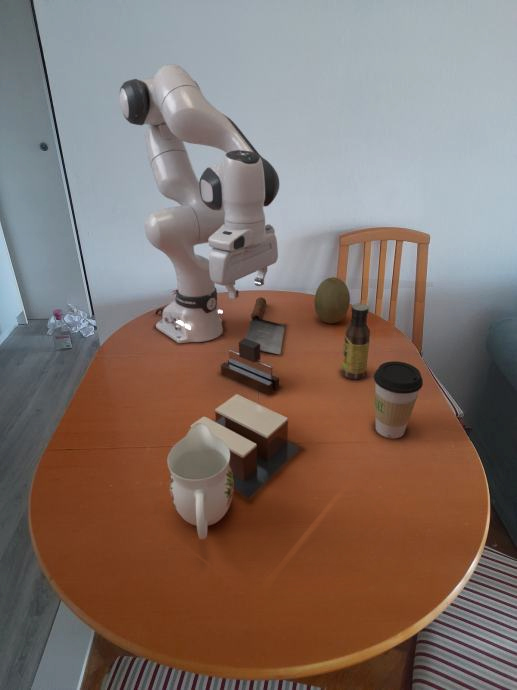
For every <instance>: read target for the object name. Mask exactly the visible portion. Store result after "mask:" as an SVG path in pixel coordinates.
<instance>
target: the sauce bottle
mask: <svg viewBox="0 0 517 690" xmlns="http://www.w3.org/2000/svg"><path fill="white" fill-rule="evenodd" d="M369 308H370V307H369V305H367V304H365V303H361V302H360V303H354V304H352V305H351V317H350V318H351V319H350V323H349V325H347V327H346V329H345V331H344V338H343V339H344V340H343V351H342V362H341V371H342V375H343V376H344V377H346V378H348V379H349V380H361V379H363V378H364V377H365V375H366V370H367V366H368V365H367V364H368V357H369V350H370V349H369V348H370V336H371V330H370V328H369V326H368V324H367V322H368V321H367V319H368V314H369Z"/></svg>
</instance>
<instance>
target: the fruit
mask: <svg viewBox="0 0 517 690" xmlns="http://www.w3.org/2000/svg"><path fill="white" fill-rule="evenodd" d="M313 301H314V303H313V305H314V310H315V313H316V316H317V318H318V319H319V320H320V321H322V322H323V323H326V324H330V325H331V324H337V323H339V322H342V320H343V319H344V318H345V317H346V316H347V313H348V311H349V308H350V305H351V304H350V303H351V295H350V291H349V289H348V286H347V284H346V283H345V282H344V281H343V280H342V279H340V278H338V277H328V278H326V279H324V280H323V281H322V282H321V283H320V284H319V285H318V287H317V288H316V291H315V295H314V300H313Z"/></svg>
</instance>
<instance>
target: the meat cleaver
mask: <svg viewBox="0 0 517 690" xmlns="http://www.w3.org/2000/svg"><path fill="white" fill-rule="evenodd" d="M266 305H267V300H266V299H265V298H264V297H262V296H259V297H258V298H256V300H255V304H254V307H253V310H252V313H251V314H250V318H251V321H250V324H249V326H248V329H247V333H246V335H245V338H246V339H248V340H251V341H254V342H256V343H259V344H260V352H264V353H271V354H274V355H281V352H282V347H283V339H284V334H285V329H286V325H285V324H281V323H278V322H274V321H270V320H266V319H263V315H264V312H265V308H266Z"/></svg>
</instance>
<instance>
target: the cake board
mask: <svg viewBox="0 0 517 690" xmlns="http://www.w3.org/2000/svg"><path fill="white" fill-rule="evenodd" d="M214 415H215V416H214V417H215V422H216V423H218V424H220V425H222V426H224V427H225V428H227V429H229V430H231V431H233V432H235V433H237V434H239V435H240V436H242V437H244V438H246V439H248V440H250V441H252V442H254V443H255V444H257V470H256V471H255V472H254V473H253V474H252V475H251V476H250V477H249V478H248V479H247V480H245V481H242V480H241V479H239V478H237V477H236V476H234V475H233V478H234V490H235V491H236V492H238V493H240V494H242V495H243V496H244V497H246V498H248V499H250V498H252V496H253V495H254V494H255V493H256V492H257V491H258V490H259V489H260V488H261V487H262V486H263V485H264V484H265V483H266V482H267V481H268V480H269V479H271V478H272V476H273V475H274V474H276V473H277V472H278V471H279V470H280V469H281V468H282V467H283V466H284V465H285V464H286V463H287V462H288V461H289V460H290V459H291V458H292V457H293V456H295V454H296V453H297V452H298V451H299V450H300V449H301V446H299V445H297V444H295V443H292V442H290V441H289V440H288V436H289V417H287V416H284V415H282V414H280V413H278V412H276V411H273V410H272V409H270V408H268V407H265V406H264V405H261V404H259V403H257V402H254V401H253V400H250V399H248V398H245V397H244V396H241V395H240V394H237V393H236V394H234V395H233V396H232V397H230V398H229V399H227V400H225V402H223V403H221V404H220V405H219V406H217V407H216V408H215V409H214Z"/></svg>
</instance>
